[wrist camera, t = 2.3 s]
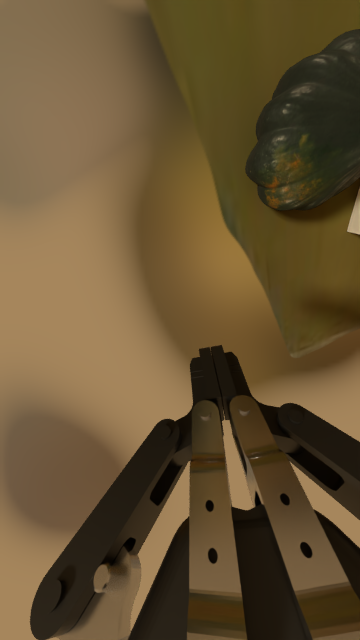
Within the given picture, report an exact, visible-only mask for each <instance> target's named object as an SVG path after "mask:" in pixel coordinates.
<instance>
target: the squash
mask: <svg viewBox="0 0 360 640" xmlns="http://www.w3.org/2000/svg"><path fill="white" fill-rule="evenodd" d="M256 135H257V139H258V143H257V144H256V146H255V147H254V149H253V150H252V152H251V154H250V155H249V157H248V159H247V162H246V168H245V170H246V174H247V176H248V177H249V178H250V179H251V180H252V181H254V182H255V183H257V184H258V195H259V197H260V199H261V201H262V202H263V203H264V204H265V205H267V206H269V207H271V208H273V209H276V210H280V211H282V210H293V209H296V210H309V209H312V208H315V207H317V206H319V205H321V204H322V203H324V202H325V201H326V200H328V199H329V198H331V197H333V196H335V195H337V194H338V193H340V192H341V191H343V190H344V189H346V188H347V187H349V186H350V185H351V184H353V183H354V182H355V181H356V180H357V179H358V178H360V29H357V30H352V31H349V32H345V33H343V34H342V35H340V36H338V37H337V38H335V39H334V40H333V41H332V42H331V43H330V44H329V45H328V46H327V47H326V48H325V49H324V50H322V51H321V52H320V53H318V54H315V55H312V56H309V57H306V58H304V59H302V60H301V61H300V62H298V63H297V64H295V65H293V66H292V67H290V68H289V69H288V70H287V71H286V72H285V74H284V75H283V77H282V78H281V79H280V81H279V83H278V85H277V88H276V90H275V91H274V93H273V97H272V100H271V101H270V102H269V103H268V104H267V105H266V106H265V107H264V109H263V110H262V112H261V114H260V116H259V118H258V121H257V124H256Z"/></svg>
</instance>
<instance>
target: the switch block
mask: <svg viewBox="0 0 360 640" xmlns="http://www.w3.org/2000/svg"><path fill="white" fill-rule="evenodd" d="M347 232H351V233H356V234H360V188H359V191H358V195H357V198H356V202H355V205H354V209H353V212H352V216H351V219H350V223H349V226H348V230H347Z"/></svg>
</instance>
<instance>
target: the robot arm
mask: <svg viewBox="0 0 360 640" xmlns="http://www.w3.org/2000/svg"><path fill="white" fill-rule="evenodd" d="M199 353H200V357H197V358H193V359H192V361H191V363H190V372H191V383H192V394H193V406H192V409H191V411H190V412H189V413H188V414H187V415H186V416H184V417H182V418H180V419H178V420H177V421H174V420H171V419H164V420H161V421H160V422H159V423H157V424H156V426H155V427H154V428H153V430H152V431H151V433H150V434H149V435H148V436H147V438H146V439H145V441H144V442H143V443H142V445H141V446H140V447H139V449H138V450H137V451H136V453H135V454H134V456H133V457H132V458H131V460H130V461H129V462H128V464H127V465H126V467H125V468H124V469H123V470H122V472H121V473H120V475H119V476H118V477H117V479H116V480H115V481H114V483H113V484H112V485H111V487H110V488H109V489H108V491H107V492H106V494H105V495H104V496H103V498H102V499H101V500H100V502H99V503H98V504H97V506H96V507H95V509H94V510H93V511H92V513H91V514H90V515H89V517H88V518H87V520H86V521H85V522H84V523H83V525H82V526H81V528H80V529H79V530H78V532H77V533H76V534H75V536H74V537H73V538H72V540H71V541H70V543H69V544H68V545H67V547H66V548H65V549H64V551H63V552H62V554H61V555H60V556H59V558H58V559H57V560H56V562H55V563H54V564H53V566H52V567H51V568H50V570H49V571H48V573H47V574H46V575H45V577H44V578H43V580H42V582H41V584H40V585H39V588H38V590H37V592H36V595H35V598H34V601H33V604H32V609H31V616H30V625H31V631H32V634H33V635H34V637H35V638H36V639H38V640H46V639H50V638H53V637H57V638H59V639H60V640H360V548H359V547H358V546H357V545H356V544H355V543H353V541H352V540H351V539H350V538H348V537H347V536H346V535H345V534H344V533H343V532H342V531H341V530H340V529H339V528H338V527H337V526H336V525H335V524H334V523H333V522H331V521H330V520H329V519H328V518H326V517H325V516H324V515H322V514H321V513H319V512H318V511H316V510H314V509H313V508H312V506H311V504H310V502H309V500H308V498H307V496H306V494H305V492H304V490H303V488H302V486H301V484H300V482H299V480H298V478H297V476H296V474H295V472H294V470H293V468H292V466H291V464H290V462H291V463H292V464H294V465H295V466H296V467H297V468H298V469H299V470H301V471H302V472H303V473H304V474H306V475H307V476H308V477H309V478H310V479H312V480H313V481H314V482H315V483H316V484H317V485H319V486H320V487H321V488H322V489H323V490H325V491H326V492H327V493H328V494H329V495H331V496H332V497H333V498H334V499H335V500H336V501H338V502H339V503H340V504H341V505H342V506H343V507H345V508H346V509H347V510H348V511H349V512H351V513H352V514H353V515H354V516H355V517H357V518H358V519H359V520H360V442H359V441H357V440H355V439H354V438H352V437H351V436H349V435H347V434H346V433H344V432H342V431H341V430H339V429H338V428H336V427H334V426H333V425H331V424H329V423H328V422H326V421H325V420H323V419H321V418H320V417H318V416H316V415H314V414H313V413H312V412H310V411H308V410H307V409H305V408H303V407H301V406H300V405H297V404H294V403H287V404H283V405H282V406H281V407H280V408H279V407H273V406H267V405H264V404H262V403H259V402H258V401H257V400H256V399H254V397H253V396H252V395H251V393H250V390H249V388H248V385H247V382H246V380H245V377H244V374H243V372H242V369H241V367H240V364H239V362H238V359H237V357H236V356H235V355H234V354H233V353H232V352H227V353H224V351H223V348H222V345H219V346H213V347H211V351H210V348H209V347H207V348H202V349H199ZM211 354H212V355H211ZM223 411H224V414H223ZM224 416H225V420H230V424H231V428H232V435H233V438H234V442H235V445H236V448H237V451H238V454H239V458H240V461H241V464H242V467H243V470H244V474H245V477H246V481H247V486H248V489H249V493H250V496H251V500H252V503H253V506H254V508H252V509H251V510H242V509H238V508H234V507H232V501H231V494H230V487H229V480H228V472H227V464H226V457H225V449H224V441H223V435H224V433H223V426H222V421H223V420H224ZM190 460H191V462H190V508H189V511H190V512H189V515H190V516H189V517H188V518H187V519H186V520H185V521H184V522H183V523H182V524H181V526H180V527H179V528H178V530H177V532H176V533H175V535H174V537H173V539H172V542H171V544H170V546H169V548H168V550H167V553H166V555H165V557H164V559H163V562H162V564H161V566H160V568H159V571H158V573H157V575H156V577H155V580H154V582H153V584H152V586H151V588H150V591H149V593H148V595H147V597H146V600H145V602H144V604H143V606H142V609H141V611H140V613H139V615H138V618H137V620H136V622H135V624H134V627H133V629H132V631H131V633H130V619H131V611H132V606H133V603H134V600H135V597H136V595H137V592H138V589H139V585H140V580H141V564H140V560H139V557H138V555H137V554H138V553H139V551H140V549H141V547H142V545H143V543H144V542H145V540H146V538H147V536H148V534H149V533H150V531H151V529H152V527H153V525H154V523H155V521H156V520H157V518H158V516H159V514H160V512H161V511H162V509H163V507H164V505H165V503H166V501H167V499H168V498H169V496H170V494H171V492H172V491H173V489H174V487H175V485H176V483H177V481H178V480H179V478H180V476H181V474H182V472H183V470H184V469H185V467H186V465H187V463H188V461H190ZM289 461H290V462H289Z"/></svg>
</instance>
